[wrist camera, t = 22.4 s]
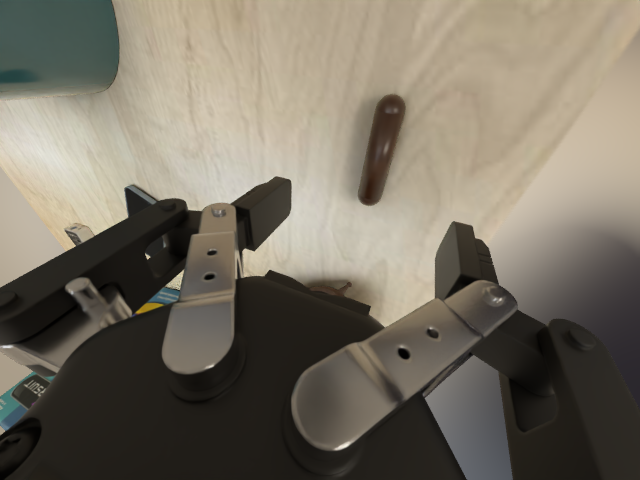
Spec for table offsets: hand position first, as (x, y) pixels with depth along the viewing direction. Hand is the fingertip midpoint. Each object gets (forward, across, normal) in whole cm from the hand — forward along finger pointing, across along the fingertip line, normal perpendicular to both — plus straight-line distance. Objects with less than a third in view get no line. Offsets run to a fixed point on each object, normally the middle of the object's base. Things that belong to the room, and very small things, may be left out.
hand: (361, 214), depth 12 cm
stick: (+12, +1, 0) cm, 12 cm away
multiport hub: (+11, +59, +32) cm, 68 cm away
